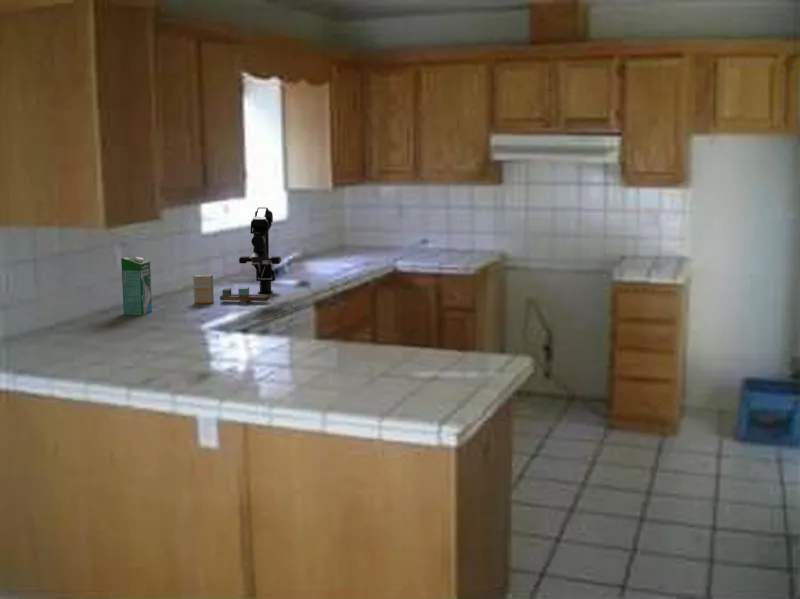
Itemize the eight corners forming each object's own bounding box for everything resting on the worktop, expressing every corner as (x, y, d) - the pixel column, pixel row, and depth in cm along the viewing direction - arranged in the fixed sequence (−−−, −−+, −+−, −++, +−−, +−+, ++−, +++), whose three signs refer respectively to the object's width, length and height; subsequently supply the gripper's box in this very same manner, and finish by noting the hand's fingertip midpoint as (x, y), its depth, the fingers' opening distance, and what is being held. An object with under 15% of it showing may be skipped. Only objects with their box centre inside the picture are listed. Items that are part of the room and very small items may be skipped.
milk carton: (142, 315, 402) (140, 258, 397) (123, 314, 404) (121, 258, 399) (152, 311, 411) (149, 255, 406) (133, 310, 412) (131, 255, 408)
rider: (240, 297, 435) (240, 286, 434) (249, 297, 435) (249, 287, 434) (238, 299, 431) (238, 288, 430) (247, 299, 430) (247, 288, 429)
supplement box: (214, 302, 434) (213, 274, 431) (211, 303, 429) (210, 276, 427) (197, 301, 435) (196, 274, 432) (193, 303, 430) (192, 275, 428)
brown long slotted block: (224, 300, 438) (223, 287, 437) (270, 301, 437) (269, 288, 436) (219, 303, 429) (219, 290, 428) (266, 304, 428) (266, 291, 427)
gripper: (236, 247, 420) (237, 280, 423) (276, 247, 420) (277, 281, 422) (241, 244, 431) (242, 276, 434) (280, 244, 431) (281, 277, 433)
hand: (260, 278), depth 431 cm, fingers closed
